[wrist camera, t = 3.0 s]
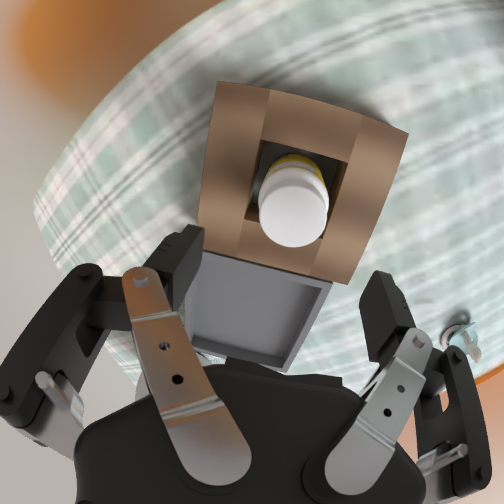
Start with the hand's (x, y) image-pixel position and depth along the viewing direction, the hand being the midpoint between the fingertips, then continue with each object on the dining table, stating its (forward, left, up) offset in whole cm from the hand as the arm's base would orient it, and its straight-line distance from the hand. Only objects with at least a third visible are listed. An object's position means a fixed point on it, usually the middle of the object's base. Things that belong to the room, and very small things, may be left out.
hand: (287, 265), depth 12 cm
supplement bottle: (0, 0, -13) cm, 13 cm away
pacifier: (+13, +30, -13) cm, 35 cm away
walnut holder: (0, 0, -13) cm, 13 cm away
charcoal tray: (+16, -1, -13) cm, 20 cm away
